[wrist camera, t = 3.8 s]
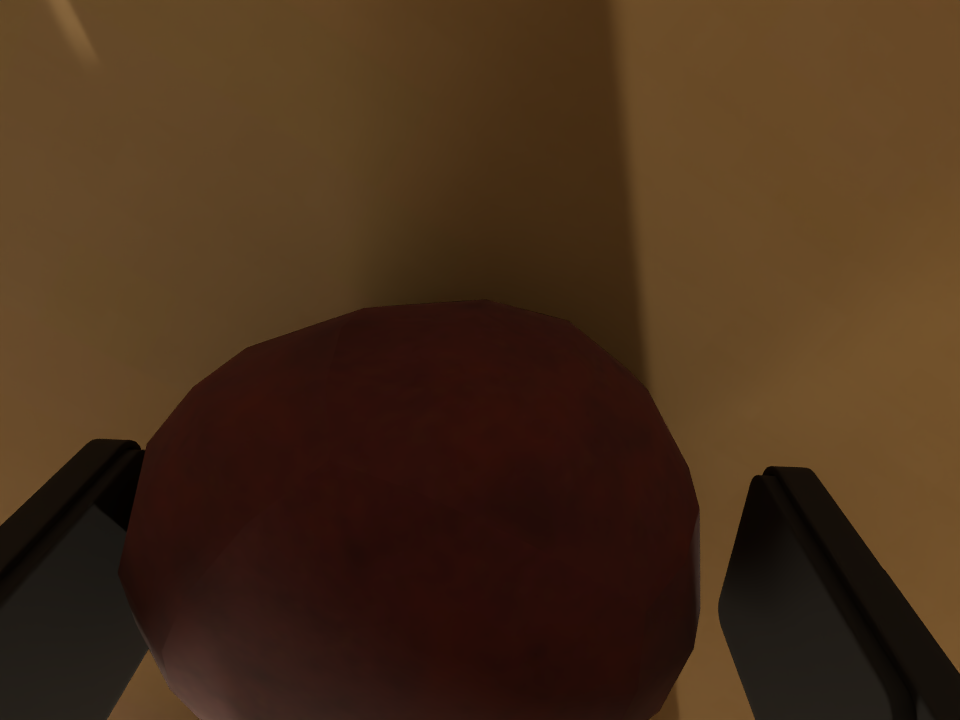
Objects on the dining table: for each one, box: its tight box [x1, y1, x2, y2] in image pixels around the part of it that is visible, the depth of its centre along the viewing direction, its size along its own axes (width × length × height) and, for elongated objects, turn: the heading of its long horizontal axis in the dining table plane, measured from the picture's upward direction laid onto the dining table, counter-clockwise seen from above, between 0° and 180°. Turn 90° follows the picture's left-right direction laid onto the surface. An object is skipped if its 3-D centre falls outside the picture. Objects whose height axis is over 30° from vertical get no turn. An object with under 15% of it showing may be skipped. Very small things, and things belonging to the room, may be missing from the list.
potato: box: [118, 300, 700, 720], centre depth 9 cm, size 7×8×6 cm
